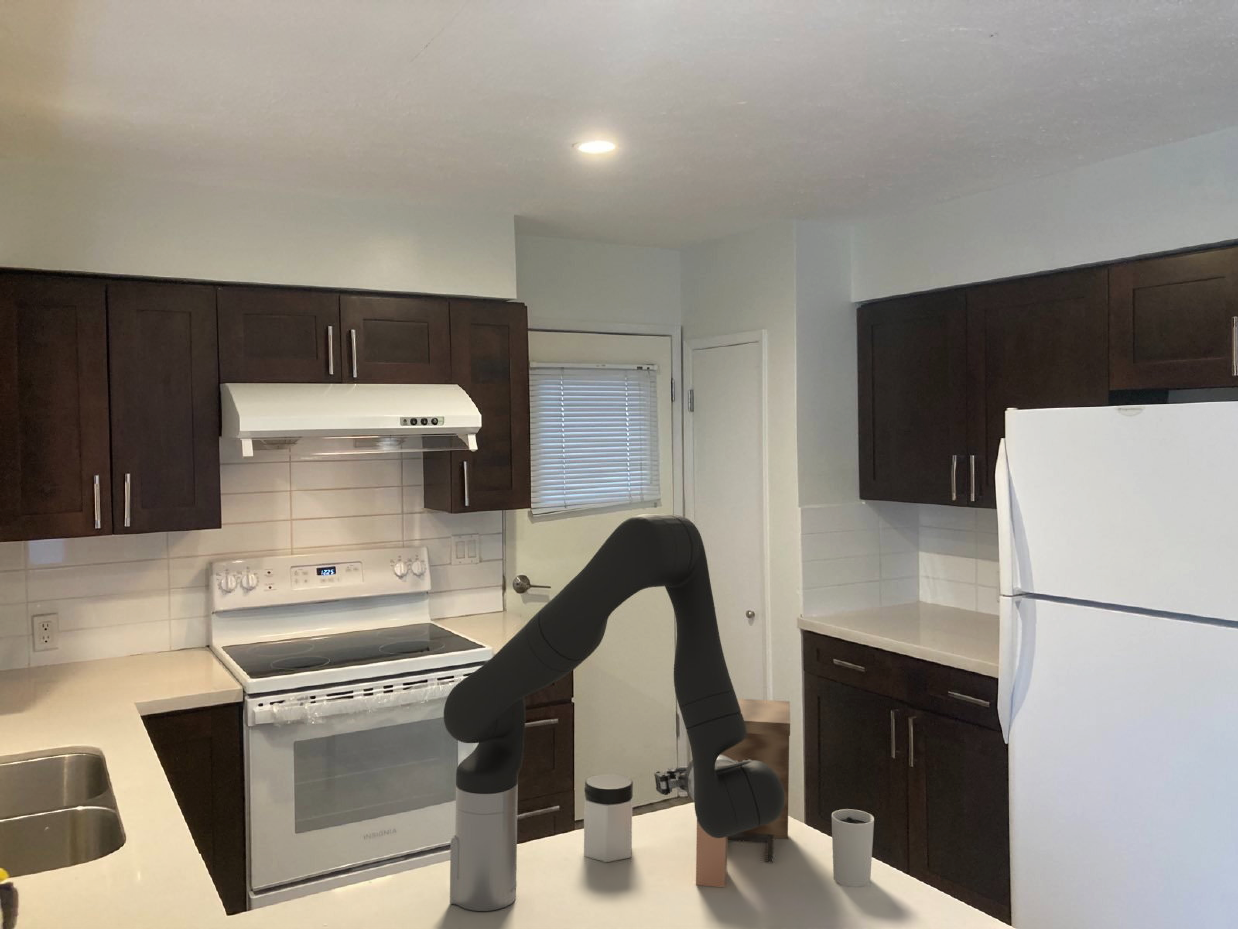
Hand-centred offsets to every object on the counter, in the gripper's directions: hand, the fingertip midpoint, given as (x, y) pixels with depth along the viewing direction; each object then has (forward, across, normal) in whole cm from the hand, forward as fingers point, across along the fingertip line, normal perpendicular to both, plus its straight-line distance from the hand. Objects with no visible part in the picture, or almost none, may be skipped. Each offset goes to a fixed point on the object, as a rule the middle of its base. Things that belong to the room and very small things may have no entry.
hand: (698, 771), depth 148 cm
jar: (+23, +14, +14) cm, 31 cm away
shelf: (+23, -9, +17) cm, 30 cm away
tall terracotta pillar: (+12, -1, +18) cm, 22 cm away
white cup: (+12, -23, +21) cm, 34 cm away
